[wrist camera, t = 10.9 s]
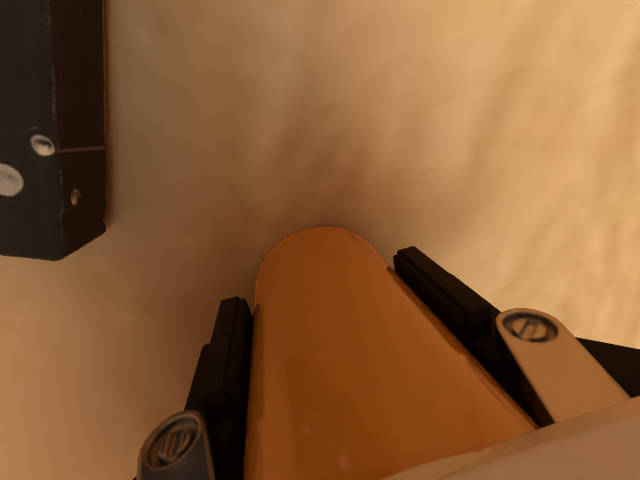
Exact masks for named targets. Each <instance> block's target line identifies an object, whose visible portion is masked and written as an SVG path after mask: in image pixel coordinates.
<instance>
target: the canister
mask: <svg viewBox="0 0 640 480" xmlns="http://www.w3.org/2000/svg"><path fill="white" fill-rule="evenodd" d="M537 429H540V427H539V426H538V425H537V423H536V422H535V421H534V420H533V419H532V418H531V417H530V416H529V415H528V414H527V413H526V412H525V411H524V409H523V408H522V407H521V406H520V405H519V404H518V403H517V402H516V401H515V400H514V399H513V398H512V397H511V395H510V394H509V393H508V392H507V391H506V390H505V389H504V388H503V387H502V386H501V385H500V384H499V383H498V381H497V380H496V379H495V378H494V377H493V376H492V375H491V374H490V373H489V372H488V371H487V370H486V369H485V367H484V366H483V365H482V364H481V363H480V362H479V361H478V360H477V359H476V358H475V357H474V356H473V355H472V353H471V352H470V351H469V350H468V349H467V348H466V347H465V346H464V345H463V344H462V343H461V342H460V341H459V339H458V338H457V337H456V336H455V335H454V334H453V333H452V332H451V331H450V330H449V329H448V328H447V327H446V326H445V324H444V323H443V322H442V321H441V320H440V319H439V318H438V317H437V316H436V315H435V314H434V313H433V312H432V310H431V309H430V308H429V307H428V306H427V305H426V304H425V303H424V302H423V301H422V300H421V299H420V298H419V296H418V295H417V294H416V293H415V292H414V291H413V290H412V289H411V288H410V287H409V286H408V285H407V284H406V282H405V281H404V280H403V279H402V278H401V277H400V276H399V275H398V274H397V273H396V272H395V271H394V270H393V268H392V267H391V266H390V265H389V264H388V263H387V262H386V261H385V260H384V259H383V258H382V257H381V256H380V254H379V253H378V252H377V251H376V250H375V249H374V248H373V247H372V246H371V245H370V244H369V243H368V242H367V241H366V240H365V239H363V238H362V237H360V236H359V235H357V234H355V233H353V232H351V231H348V230H345V229H342V228H337V227H325V226H324V227H314V228H309V229H305V230H302V231H299V232H297V233H295V234H292V235H290V236H289V237H287V238H285V239H284V240H282V241H281V242H280V243H279V244H277V245H276V246H275V247H274V248H273V249H272V250H271V251H270V252H269V253H268V255H267V256H266V258H265V259H264V261H263V262H262V264H261V266H260V268H259V271H258V274H257V277H256V283H255V294H254V310H253V325H252V340H251V355H250V370H249V386H248V401H247V416H246V431H245V447H244V462H243V477H242V480H434V479H437V478H439V477H442V476H445V475H447V474H450V473H452V472H454V471H456V470H458V469H461V468H463V467H465V466H467V465H469V464H471V463H473V462H475V461H477V460H480V459H481V458H483V457H485V456H487V455H488V454H490V453H492V452H493V451H494V450H496V449H490V450H483V449H485V448H487V447H489V446H491V445H493V444H496V443H499V442H502V441H505V440H508V439H511V438H514V437H517V436H520V435H522V434H525V433H528V432H531V431H534V430H537Z"/></svg>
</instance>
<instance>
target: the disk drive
mask: <svg viewBox="0 0 640 480" xmlns="http://www.w3.org/2000/svg"><path fill="white" fill-rule="evenodd" d="M104 46H105V43H104V2H103V0H0V255H3V256H12V257H25V258H32V259H41V260H50V261H57V260H61V259H63V258H65V257H66V256H68V255H69V254H71V253H73V252H75V251H77V250H78V249H80V248H81V247H83V246H84V245H86V244H87V243H89V242H91V241H92V240H94V239H95V238H97V237H99V236H101V235H102V234H103V233H105V232H106V226H105V223H104V220H103V219H104V212H105V210H106V208H107V198H106V190H107V182H106V127H105V70H104V64H105V58H104Z"/></svg>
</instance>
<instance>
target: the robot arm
mask: <svg viewBox="0 0 640 480" xmlns="http://www.w3.org/2000/svg"><path fill="white" fill-rule="evenodd" d="M393 261H394V268H395V272H396V273H397V274H398V275H399V276H400V277H401V278H402V279H403V280H404V281H405V282H406V284H407V285H408V286H409V287H410V288H411V289H412V290H413V291H414V292H415V293H416V294H417V295H418V296H419V298H420V299H421V300H422V301H423V302H424V303H425V304H426V305H427V306H428V307H429V308H430V309H431V310H432V312H433V313H434V314H435V315H436V316H437V317H438V318H439V319H440V320H441V321H442V322H443V323H444V324H445V326H446V327H447V328H448V329H449V330H450V331H451V332H452V333H453V334H454V335H455V336H456V337H457V338H458V339H459V341H460V342H461V343H462V344H463V345H464V346H465V347H466V348H467V349H468V350H469V351H470V352H471V353H472V355H473V356H474V357H475V358H476V359H477V360H478V361H479V362H480V363H481V364H482V365H483V366H484V367H485V369H486V370H487V371H488V372H489V373H490V374H491V375H492V376H493V377H494V378H495V379H496V380H497V381H498V383H499V384H500V385H501V386H502V387H503V388H504V389H505V390H506V391H507V392H508V393H509V394H510V395H511V397H512V398H513V399H514V400H515V401H516V402H517V403H518V404H519V405H520V406H521V407H522V408H523V409H524V411H525V412H526V413H527V414H528V415H529V416H530V417H531V418H532V419H533V420H534V421H535V422H536V423H537V425H538V426H539V427H540V429H537V430H534V431H531V432H528V433H525V434H522V435H520V436H517V437H514V438H511V439H508V440H505V441H502V442H499V443H496V444H493V445H491V446H489V447H487V448H485V449H483V450H490V449H496V450H494V451H493V452H492V453H490V454H488V455H487V456H485V457H483V458H481V459H480V460H477V461H475V462H473V463H471V464H469V465H467V466H465V467H463V468H461V469H458V470H456V471H454V472H452V473H450V474H447V475H445V476H442V477H439V478H437V479H434V480H640V349H635V348H630V347H624V346H619V345H614V344H609V343H603V342H598V341H593V340H587V339H582V338H577V337H574V336H573V335H572V334H571V333H570V331H569V330H568V329H567V328H566V327H565V326H564V325H563V324H562V323H561V322H560V321H558V320H557V319H556V318H555V317H553V316H551V315H549V314H547V313H544V312H541V311H538V310H533V309H527V308H514V309H509V310H506V311H504V312H500V311H499V310H498V309H497V308H495V307H494V306H493V305H491V304H490V303H489V302H487V301H486V300H485V299H484V298H482V297H481V296H480V295H478V294H477V293H476V292H474V291H473V290H472V289H470V288H469V287H468V286H467V285H465V284H464V283H463V282H461V281H460V280H459V279H457V278H456V277H455V276H454V275H452V274H450V273H448V272H447V271H446V270H444V269H443V268H442V267H440V266H439V265H438V264H436V263H435V262H434V261H433V260H431V259H430V258H429V257H427V256H426V255H425V254H424V253H422V252H421V251H420V250H418V249H417V248H416V247H414V246H411V247H408V248H404V249H401V250H398V251H397V255H394V256H393ZM252 325H253V317H252V314H251V311H250V309H249V306H248V303H247V301H246V299H245V298H243V299H240V298H239V296H235V297H232V298H228V299H225V300H222V301H221V303H220V307H219V311H218V315H217V318H216V322H215V326H214V330H213V334H212V338H211V341H210V343H209V344H206V345H204V346H203V348H202V350H201V354H200V357H199V361H198V364H197V368H196V371H195V374H194V378H193V381H192V385H191V388H190V392H189V395H188V398H187V402H186V405H185V409H184V411H181V412H179V413H176V414H174V415H172V416H170V417H169V418H167V419H166V420H164V421H163V422H161V423H160V424H159V425H158V426H157V427H156V428H155V429H154V430H153V431H152V432H151V434H150V435H149V436H148V437H147V439H146V440H145V442H144V444H143V446H142V448H141V449H140V453H139V457H138V465H137V476H136V477H135V478H134V479H133V480H242V477H243V462H244V447H245V431H246V416H247V401H248V386H249V370H250V355H251V340H252Z"/></svg>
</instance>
